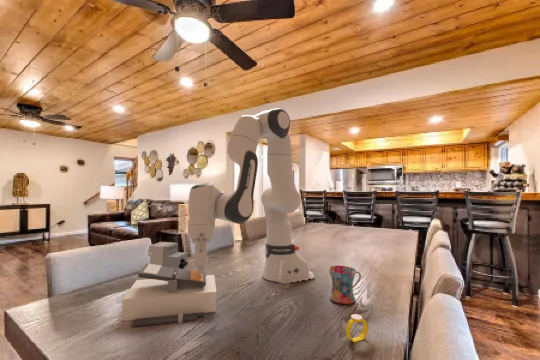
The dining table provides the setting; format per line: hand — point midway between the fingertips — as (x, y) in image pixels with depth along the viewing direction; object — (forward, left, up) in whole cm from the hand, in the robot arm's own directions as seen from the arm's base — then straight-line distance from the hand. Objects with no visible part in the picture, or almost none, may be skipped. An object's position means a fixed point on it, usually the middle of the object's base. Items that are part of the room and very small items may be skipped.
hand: (200, 273), depth 86 cm
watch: (-39, +31, -10) cm, 51 cm away
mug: (-49, +9, -10) cm, 51 cm away
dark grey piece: (+8, +11, -9) cm, 17 cm away
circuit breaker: (+12, -21, -10) cm, 26 cm away
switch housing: (+8, 0, -9) cm, 13 cm away
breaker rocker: (+8, 0, 0) cm, 8 cm away
